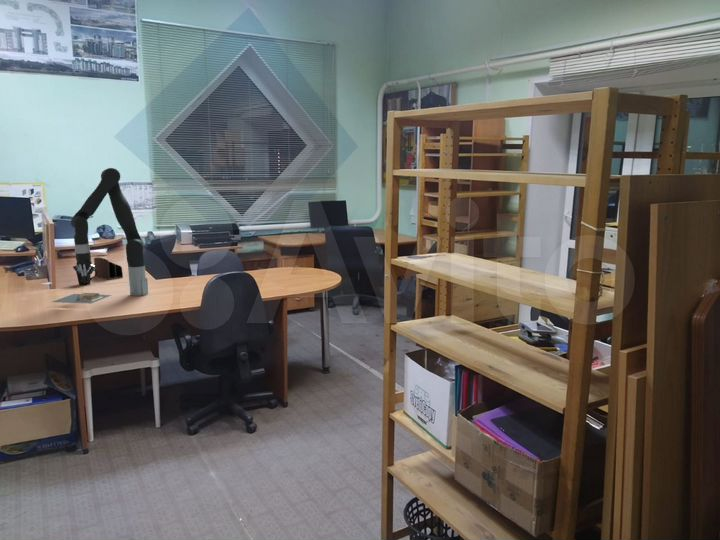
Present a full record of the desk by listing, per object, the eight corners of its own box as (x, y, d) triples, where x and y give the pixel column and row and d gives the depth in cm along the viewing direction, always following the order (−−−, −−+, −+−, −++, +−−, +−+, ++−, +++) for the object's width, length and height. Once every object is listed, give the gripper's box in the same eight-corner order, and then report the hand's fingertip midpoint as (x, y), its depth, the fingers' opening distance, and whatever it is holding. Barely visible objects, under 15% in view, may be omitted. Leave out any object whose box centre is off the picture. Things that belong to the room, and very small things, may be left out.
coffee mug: (75, 286, 343) (73, 270, 341) (79, 283, 352) (78, 268, 350) (94, 285, 346) (93, 270, 344) (98, 282, 354) (97, 267, 352)
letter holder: (109, 280, 362) (107, 259, 360) (94, 276, 374) (92, 256, 372) (123, 277, 370) (121, 257, 368) (108, 274, 382) (106, 254, 380)
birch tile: (85, 296, 310) (99, 297, 309) (77, 299, 303) (92, 300, 302) (84, 292, 309) (99, 293, 308) (76, 295, 303) (91, 295, 302)
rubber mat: (112, 296, 315) (112, 295, 315) (91, 305, 295) (91, 303, 295) (74, 295, 318) (74, 293, 318) (51, 303, 298) (50, 301, 298)
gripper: (97, 250, 304) (101, 280, 307) (75, 250, 305) (79, 280, 308) (89, 253, 296) (93, 283, 300) (67, 253, 298) (71, 283, 301)
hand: (86, 282), depth 304 cm, fingers closed
